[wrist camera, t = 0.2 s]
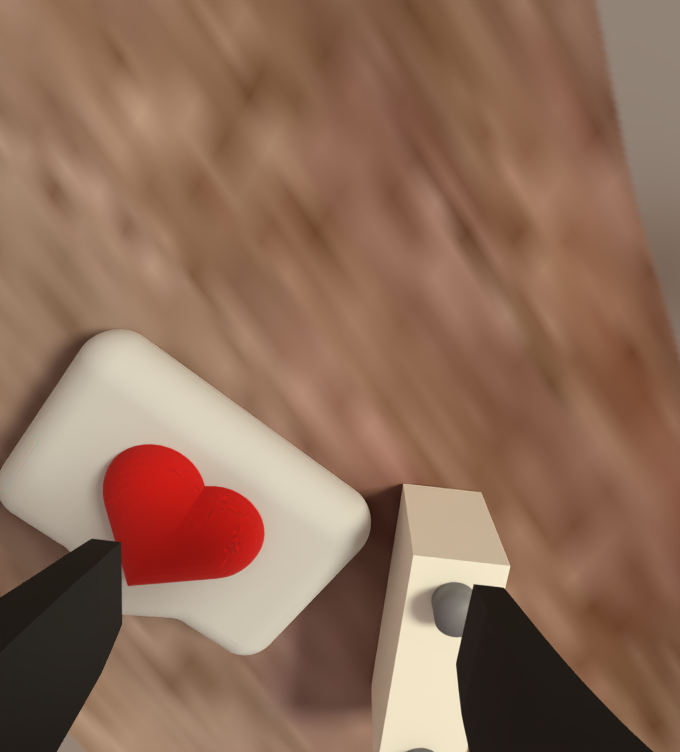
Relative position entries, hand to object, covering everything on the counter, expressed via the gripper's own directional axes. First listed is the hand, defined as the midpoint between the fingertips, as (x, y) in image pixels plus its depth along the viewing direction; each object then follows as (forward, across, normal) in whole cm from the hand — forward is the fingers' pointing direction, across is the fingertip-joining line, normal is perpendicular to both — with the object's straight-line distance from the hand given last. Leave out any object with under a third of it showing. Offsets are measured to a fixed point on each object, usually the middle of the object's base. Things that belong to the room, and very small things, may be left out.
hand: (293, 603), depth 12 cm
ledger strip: (+10, -5, +7) cm, 13 cm away
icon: (+11, +5, +4) cm, 12 cm away
